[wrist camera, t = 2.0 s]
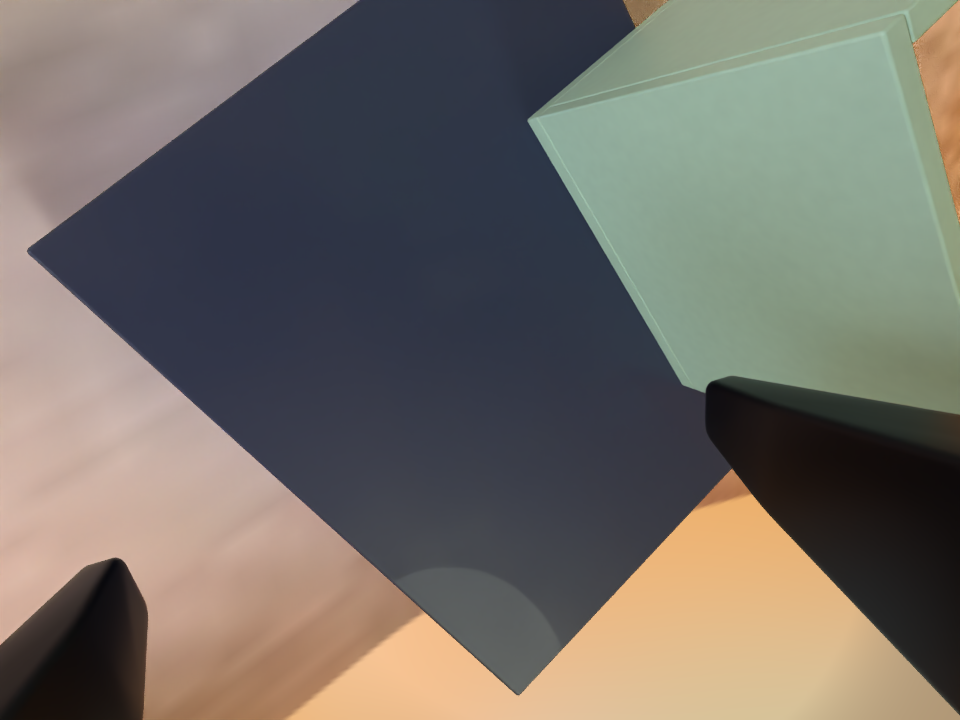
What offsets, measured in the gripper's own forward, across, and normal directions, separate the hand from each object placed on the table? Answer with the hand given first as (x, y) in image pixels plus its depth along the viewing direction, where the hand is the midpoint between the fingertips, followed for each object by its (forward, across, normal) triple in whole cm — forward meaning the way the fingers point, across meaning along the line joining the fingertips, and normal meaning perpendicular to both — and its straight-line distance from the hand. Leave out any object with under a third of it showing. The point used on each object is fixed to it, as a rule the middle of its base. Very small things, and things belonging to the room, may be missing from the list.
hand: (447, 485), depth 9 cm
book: (+13, -4, +3) cm, 14 cm away
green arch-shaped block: (+10, -10, 0) cm, 14 cm away
